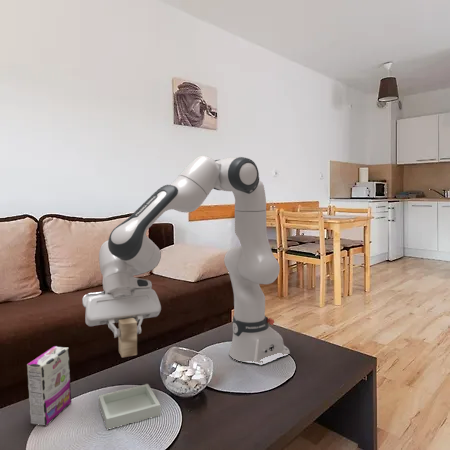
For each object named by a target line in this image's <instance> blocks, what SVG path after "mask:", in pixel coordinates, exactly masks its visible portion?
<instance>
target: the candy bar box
mask: <svg viewBox="0 0 450 450" xmlns="http://www.w3.org/2000/svg"><path fill="white" fill-rule="evenodd" d="M69 350H70V349H69V347H65V346H58V345H54V346H52V347H51V348H49V349H47V350H46V351H45V352H43V353H41V354H40V355H39V356H37V357H36V358H35V359H33V360H31V361H30V362H28V363H27V364H26V370H27V371H26V372H27V374H26V375H27V387H28V388H27V389H28V401H29V402H28V405H29V419H30V420H29V421H30V424H31V425H33V426H34V425H35V426H42V425H47V424H48V423H49V422H50V421H51V420H52V419H53V420H54V419H56V418H57V416H59V415H60V414H59V413H60V412H61V411H62V410H63V409H64V408H65V407H66V408H68V406H69V405H70V404H72V393H71V392H72V391H71V373H70V371H71V369H70V352H69ZM66 408H65V409H66ZM65 409H64V410H65ZM64 410H63V411H64ZM63 411H62V412H63ZM62 412H61V413H62ZM58 414H59V415H58ZM56 415H57V416H56ZM53 420H52V421H53ZM52 421H51V422H52ZM51 422H50V423H51ZM50 423H49V424H50ZM38 424H39V425H38ZM49 424H48V425H49ZM48 425H47V426H48Z"/></svg>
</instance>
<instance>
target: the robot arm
mask: <svg viewBox="0 0 450 450" xmlns="http://www.w3.org/2000/svg"><path fill="white" fill-rule="evenodd" d="M213 189H214V190H216V191H223V192H232V194H233V196H234V233H235V236H236V237H237V238H238V240H239V244H240V246H233V247H231V248H229V249H227V251H226V253H225V255H224V258H223V259H224V260H223V262H224V266H225V267H226V270H227V271H228V275H229V279H230V281H231V287H232V292H233V306H234V308H233V317H232V340H231V345H230V348H229V349H230V350H229V352H228V354H229V353H230V356H231V357H232V358H234V359H237V360H240V361H252V362H253V361H254V362H258V363H261V362H262V363H263V361H260V360H261V359H263V358H265V357H268V356H271V355H274V354H277V353H282V354H283V355H284V354H290V355H291V351H290V349H289V348H288V347H287V345H285V344H284V339H283V336H282V335H281V334H280V333H279V332H278V331H276V330H275V329H274V328H272V327H271V326H273V325H274V324H275V320H274V319H273V318H271V317H268V316H266V296H265V293H264V292H263V290H262V288H261V285H271V284H272V283H274V282H275V281H276V280H277V278H278V277H279V275H280V269H281V268H280V262H279V261H278V260H277V259H276V257H275V256H274V254H273V250H272V249H271V248H272V247H271V244H270V242H269V238H268V231H267V230H268V229H267V199H266V191H265V185H264V184H263V182H262V181H261V180H260V172H259V169H258V167H257V164H256V163H255V161H254V160H252V159H250V158H248V157H243V156H239V157H231V156H230V157H226V158H222V159H216V160H214V159H213V158H212V157H209V156H206V155H200V156H197V157H196V158H195V159H193V160H192V161H191V162H189V164H188V165H187V166H186V167H185V168H184V169H183V170H182V171H181V172H180V174H179V175H178V176H177V177H176V178H175V179H174V180H173V182H171V183H169V184H166V185H162V186H161V187H160V188H158V189H157V190H156V191H155V192H154V193H152V194H151V195H150V197H149V198H147V200H145V201H144V202H143V203H142V204H141V205H140V206H139V207H138V208H137V209H136V210H135V211H134V212H133V213H132V214H131V215H130V216H128V218H126V219H125V220H124V221H123V222H121V223H120V224H118V225H116V227H114V228H113V230H112V231H111V232H110V234H109V237H108V240H106V241H104V242H103V243H102V245H101V246H100V248H99V250H98V251H99V252H98V261H99V270H100V273H101V275H102V289H103V291H96V292H88V293H87V294H85V295H83V297H82V299H81V300H82V306H83V307H84V308H85V311H84V312H85V313H84V314H85V316H84V317H85V319H84V320H85V324H86V325H87V326H88V327H94V326H101V325H107V326H108V329H109V330H110V331H112V333H113V336H114V337H113V338H114V339H116V338H119V337H120V336H121V332H120V328H119V329H118V328H117V327H116V325H115V323H116V324H117V323H118V320H119V319H126V318H134V319H135V320H136V322H137V335H140V334H142V327H141V325H142V323H143V321H144V319H150V318H157V317H158V316H159V315H160V313H161V310H162V305H161V302H160V300H159V296H158V294H157V292H156V291H155V290H154V289H153V288H152V287H153V285H152V283H153V282H152V281H151V280H149V279H144V278H139V277H134V276H139V275H140V276H141V275H142V274H146V273H149V272H151V271H153V270H154V269H155V268H156V267H157V266H158V264H159V263H160V261H161V258H162V252H161V249H160V248H159V247H158V246H157V244H155V242H153V240H152V239H150V238H149V237H148V236H147V232H148V230H149V229H150V228H151V227H152V225H153V224H154V223H155V222H156V221H157V220H158V219H159V218H161V216H162V215H163V214H164V213H165V212H167V211H169V210H170V211H171V210H175V211H177V212H179V213H192V212H195V211H196V210H197V209H199V208H200V207H201V206H202V204H203V203H204V201H206V199H207V197H209V195H210V193H211V191H212V190H213ZM269 325H271V326H269ZM230 356H229V357H230ZM231 357H230V358H231ZM232 358H231V359H232ZM234 359H233V360H234Z"/></svg>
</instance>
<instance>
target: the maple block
mask: <svg viewBox="0 0 450 450" xmlns="http://www.w3.org/2000/svg"><path fill="white" fill-rule="evenodd" d="M117 323H118V324H117V325H118V326H117V327H118V328H117V329H119V328H120V332H121V336H120V337H118V353H119V354H120V357H121V358H127V357H128V358H129V357H133V356H137V355H138V334H137V326H138V323H137V321H136V320H135V319H134V318H126V319H119V320H118V322H117Z"/></svg>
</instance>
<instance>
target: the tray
mask: <svg viewBox="0 0 450 450" xmlns="http://www.w3.org/2000/svg"><path fill="white" fill-rule="evenodd" d="M99 406H100V408H99V410H100V409H101V411H100V413H101V412H102V414H101V416H102V415H103V417H102V419H103V418H104V420H103V422H104V421H105V423H104V425H105V424H106V426H105V428H107V429H109V428H113V427H117V426H120V425H124V426H126V425H125V424H128V425H130V424H129V423H132V424H135V423H139V422H142V421H145V420H144V419H146V420H148V419H147V418H150V417H153V418H156V417H155V416H157V417H160V416H162V413H161V411H162V410H161V407H162V405H161V403H160V402H159V400H158V398H157V396H156V395H155V393H154V392H153V389H152V388H151V386H150V384H149V383H145V384H142V385H137V386H133V387H128V388H124V389H120V390H116V391H112V392H108V393H103V394H99V395H98V407H99ZM159 415H160V416H159ZM150 419H151V418H150ZM141 420H142V421H141ZM138 421H139V422H138ZM134 422H135V423H134ZM117 428H118V427H117ZM107 429H106V430H107Z"/></svg>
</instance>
